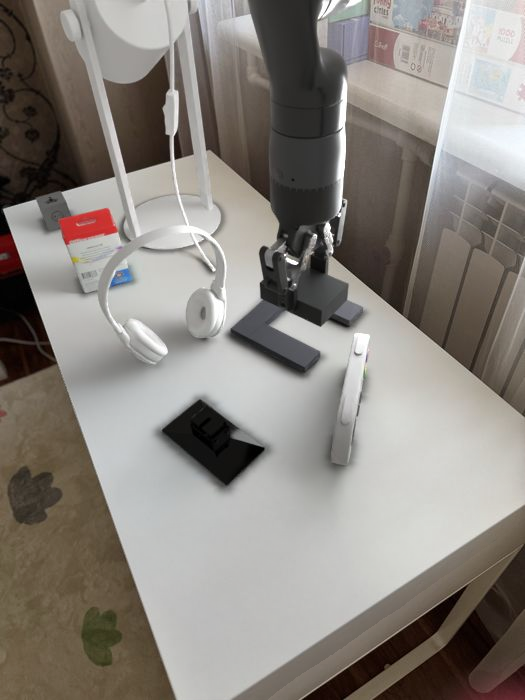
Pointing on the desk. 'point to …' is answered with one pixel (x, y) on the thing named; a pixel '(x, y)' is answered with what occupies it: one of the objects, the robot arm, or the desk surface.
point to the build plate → (213, 441)
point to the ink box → (93, 247)
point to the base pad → (281, 344)
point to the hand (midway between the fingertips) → (303, 294)
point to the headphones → (201, 308)
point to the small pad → (313, 295)
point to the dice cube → (53, 209)
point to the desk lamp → (134, 64)
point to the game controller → (350, 400)
